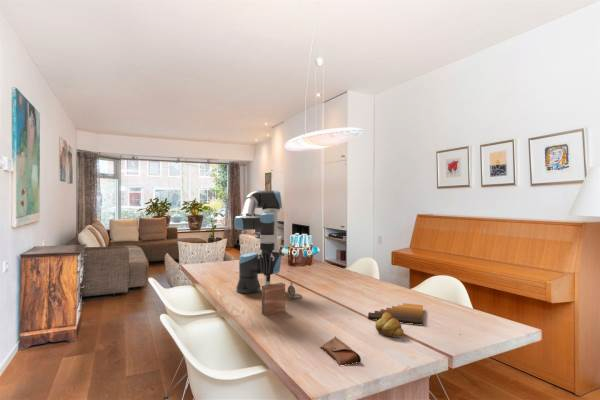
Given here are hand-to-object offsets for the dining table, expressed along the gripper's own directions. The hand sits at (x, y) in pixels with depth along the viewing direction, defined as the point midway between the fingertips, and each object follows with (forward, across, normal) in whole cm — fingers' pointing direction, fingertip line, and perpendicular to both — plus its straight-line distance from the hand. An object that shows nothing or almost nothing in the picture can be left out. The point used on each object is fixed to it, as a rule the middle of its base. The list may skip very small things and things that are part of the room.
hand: (267, 287), depth 183 cm
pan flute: (+12, +46, +48) cm, 68 cm away
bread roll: (+12, +60, +25) cm, 66 cm away
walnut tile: (+12, +6, 0) cm, 13 cm away
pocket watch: (+12, -8, +24) cm, 28 cm away
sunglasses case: (+13, +61, -6) cm, 63 cm away
